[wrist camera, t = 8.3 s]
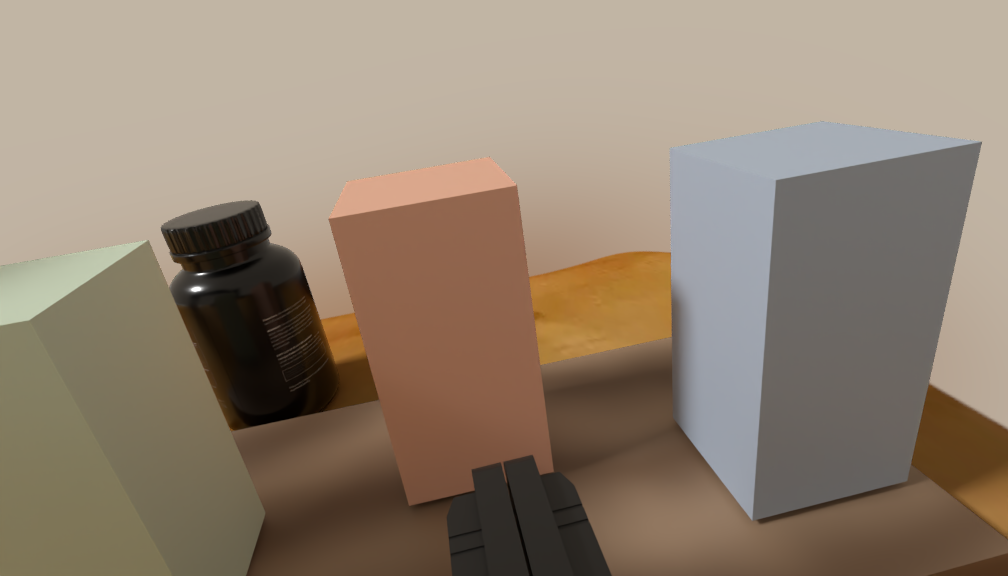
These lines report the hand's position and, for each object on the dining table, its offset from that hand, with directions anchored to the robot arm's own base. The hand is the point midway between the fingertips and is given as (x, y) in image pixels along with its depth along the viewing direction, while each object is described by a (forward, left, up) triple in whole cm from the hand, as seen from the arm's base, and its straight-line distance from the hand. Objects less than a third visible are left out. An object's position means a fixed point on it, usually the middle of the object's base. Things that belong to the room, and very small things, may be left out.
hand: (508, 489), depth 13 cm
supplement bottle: (-22, +2, -8) cm, 24 cm away
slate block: (+2, +12, -6) cm, 14 cm away
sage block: (-12, -7, -6) cm, 15 cm away
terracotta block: (-8, +5, -6) cm, 12 cm away
